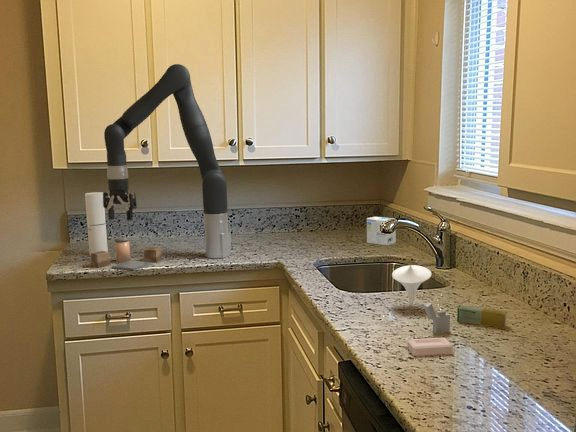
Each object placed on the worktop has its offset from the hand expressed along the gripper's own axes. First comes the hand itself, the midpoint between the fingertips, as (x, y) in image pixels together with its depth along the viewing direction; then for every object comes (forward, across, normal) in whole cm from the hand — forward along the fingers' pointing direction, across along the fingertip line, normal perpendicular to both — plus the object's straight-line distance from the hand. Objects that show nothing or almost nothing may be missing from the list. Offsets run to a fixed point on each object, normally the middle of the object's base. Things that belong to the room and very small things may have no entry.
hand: (120, 219), depth 231 cm
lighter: (+16, -127, +34) cm, 132 cm away
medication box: (+16, -136, +23) cm, 139 cm away
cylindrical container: (+16, +18, -6) cm, 25 cm away
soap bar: (+17, -128, +46) cm, 137 cm away
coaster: (+16, -9, +6) cm, 19 cm away
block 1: (+16, +3, +9) cm, 19 cm away
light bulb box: (+16, -83, -65) cm, 107 cm away
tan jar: (+16, 0, 0) cm, 16 cm away
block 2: (+16, -11, -4) cm, 20 cm away
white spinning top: (+16, -116, +15) cm, 118 cm away
